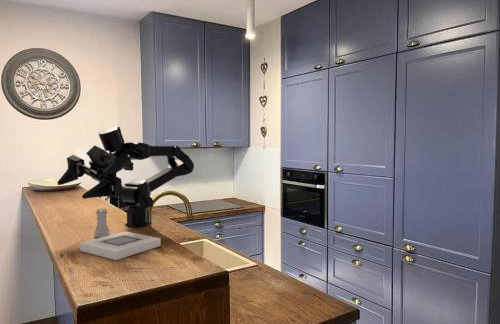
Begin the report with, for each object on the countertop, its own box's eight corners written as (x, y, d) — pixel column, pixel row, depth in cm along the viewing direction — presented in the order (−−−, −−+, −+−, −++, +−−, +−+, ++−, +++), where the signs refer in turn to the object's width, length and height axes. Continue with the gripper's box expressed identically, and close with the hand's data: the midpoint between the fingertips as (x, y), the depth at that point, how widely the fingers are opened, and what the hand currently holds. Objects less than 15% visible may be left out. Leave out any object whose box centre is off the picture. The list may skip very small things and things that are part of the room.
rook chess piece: (93, 235, 105) (93, 208, 105) (109, 233, 107) (109, 207, 106) (93, 239, 101) (93, 211, 100) (110, 237, 103) (110, 210, 102)
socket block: (125, 238, 101) (125, 231, 101) (160, 245, 94) (160, 237, 94) (79, 250, 89) (79, 242, 89) (115, 260, 82) (115, 251, 82)
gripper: (87, 131, 107) (41, 153, 95) (136, 154, 102) (93, 180, 90) (90, 161, 113) (47, 185, 101) (136, 184, 108) (96, 212, 96)
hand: (70, 190), depth 97 cm, fingers open, 9 cm apart
